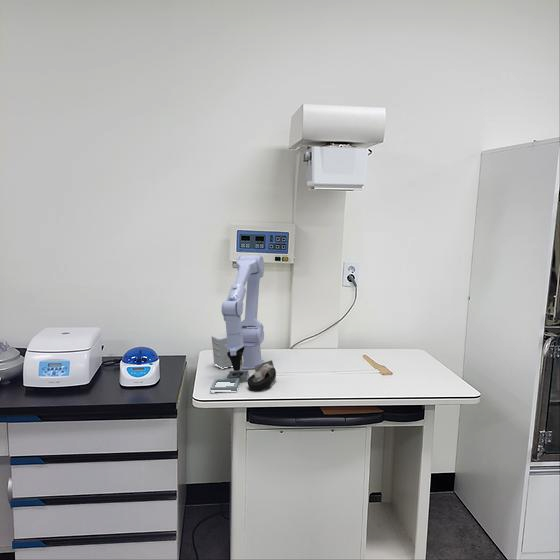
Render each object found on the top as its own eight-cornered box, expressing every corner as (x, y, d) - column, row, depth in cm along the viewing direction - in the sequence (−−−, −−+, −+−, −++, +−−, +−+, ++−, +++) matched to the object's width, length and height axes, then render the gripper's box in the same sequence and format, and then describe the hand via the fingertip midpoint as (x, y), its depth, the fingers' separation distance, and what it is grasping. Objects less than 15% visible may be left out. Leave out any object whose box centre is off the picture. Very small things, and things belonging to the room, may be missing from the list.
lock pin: (234, 374, 186) (233, 358, 185) (242, 373, 186) (241, 358, 185) (233, 377, 183) (231, 361, 182) (242, 376, 183) (240, 361, 182)
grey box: (230, 361, 206) (227, 332, 204) (238, 366, 200) (235, 335, 198) (213, 366, 202) (210, 335, 201) (221, 370, 196) (218, 339, 194)
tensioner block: (230, 376, 188) (229, 371, 188) (248, 375, 188) (248, 370, 188) (227, 382, 181) (227, 377, 181) (246, 381, 181) (246, 376, 181)
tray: (215, 384, 181) (214, 379, 181) (239, 382, 181) (239, 378, 180) (210, 393, 172) (210, 388, 172) (236, 392, 172) (236, 386, 171)
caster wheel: (253, 399, 171) (246, 386, 180) (284, 387, 173) (275, 374, 182) (248, 382, 168) (241, 370, 178) (279, 371, 171) (271, 359, 180)
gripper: (226, 328, 189) (229, 363, 191) (220, 338, 175) (223, 376, 177) (244, 327, 189) (247, 361, 191) (240, 337, 175) (243, 374, 177)
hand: (237, 368), depth 184 cm, fingers closed on lock pin, 3 cm apart
